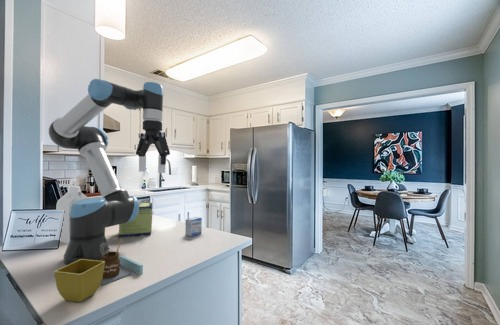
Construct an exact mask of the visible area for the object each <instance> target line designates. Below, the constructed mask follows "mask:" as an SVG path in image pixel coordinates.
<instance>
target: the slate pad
mask: <svg viewBox="0 0 500 325" xmlns="http://www.w3.org/2000/svg"><path fill="white" fill-rule="evenodd" d="M128 276H131V272H128V271H127V270H125V269H123V268H121V267H120V272H119V274H118V275H117V276H115V277H112V278H102V281H101V283H100V285H99V286H102V287H103V286H105V285H107V284H111V283H112V282H115V281H118V280H120V279H123V278H126V277H128Z"/></svg>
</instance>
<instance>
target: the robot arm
mask: <svg viewBox="0 0 500 325" xmlns="http://www.w3.org/2000/svg"><path fill="white" fill-rule="evenodd" d="M163 90H164V89H163V86H162V85H161V83H159V82H154V81H146V82H144V83H143V87H142V89H139V90H137V89H136V90H135V89H132V88H129V87H126V86H121V85H119V84H116V83H113V82H110V81H108V80H104V79H99V78H93V79H91V81H90V82H89V84H88V86H87V93H88V94H87V95H86V96H84V97H83V98H82V99H81V100H80V101H78V103H77V104H75V106H74V107H72V108H71V109H70V110H69V111H68V112H66V114H64V115H63V116H62V117H58V118H56V119H54V120H53V121H52V123H51V124H50V126H48V127H49V128H48V135H49V138H50V140H51V142H53V143H54V144H55V145H57V146H59V147H60V148H63V149H66V150H67V149H68V150H70V149H71V150H77V151H78V153H79V154H80V156H81V157H83V158H85V159H86V162H87V164H88V167H89V169H90V171H91V173H92V176H93V178H94V180H95V183H96V186H97V188H98V190H99V192H100V195H101V196H95V197H88V198H87V199H83V200H79V201H77V202H75V203H73V204H72V206H71V210H70V242H69V244H67V247H66V250H65V252H64V255H63V263H64V264H65V265H66V266H67V265H69V264H71V263H73V262H75V261H78V260H80V259H87V260H97V261H101V256H102V255H103V254H104V253H103V252H105V253H107V252H110V247H109V244H108V242H107V239H106V235H105V234H106V233H105V232H106V228H109V227H114V226H119V224H123V223H127V222H130V221H133V220H134V219H135V218H136V217H137V215H138V212H139V203H140V202H139V200H138V198H137V197H136V196H133V195H130V194H129V193H128V191H127V189H123V188H122V186H121V184H120V181H119V179H118V177H117V174H116V173H115V171H114V168H113V166H112V164H111V162H110V159H109V157H108V155H107V153H106V151H107V147H108V145H109V141H108V140H109V137H108V135H107V132H106V131H104V130H103V129H102V128H98V127H95V126H86V125H87V124H88V123H89V122H92V120H93V119H94V118H96V117H97V116H98V115H99V114H101V113H102V112H103V111H104V110H105V109H107V107H109V106H111V105H112V104H114V105H119V106H123V107H124V108H126V109H127V110H133V111H135V110H139V109H140V110H141V109H142V130H143V131H145V132H143V133H142V132H141V133H140V136H139V139H138V140H139V141H138V145H137V147H136V151H135V155H137V156H138V172H139V173H141V172H142V173H143V172H145V173H146V171H147V152H148V150H149V148H150V146H151V145H154V146H155V148H156V151H157V152H158V154H159V155H158V166H157V167H158V168H157V169H158V170H157V171H158V172H157V173H158V174H165V173H166V164H167V156H169V155H170V154H171V153H170V152H171V151H170V149H169V146H168V142H167V138H166V132H165V131H163V123H162V121H163V108H164V107H163V104H164V103H163V102H164V101H163V100H164V91H163ZM102 243H103V244H102ZM104 243H105V244H106V243H107V244H108V245H107V244H106V245H105V244H104ZM100 245H101V246H100ZM103 247H104V248H103ZM108 247H109V248H108ZM100 248H101V249H100ZM105 248H106V249H105ZM102 249H103V250H102ZM102 253H103V254H102Z"/></svg>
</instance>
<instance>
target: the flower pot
mask: <svg viewBox="0 0 500 325" xmlns="http://www.w3.org/2000/svg"><path fill="white" fill-rule="evenodd" d="M104 265H105V261H101V260H100V261H97V260H87V259H80V260H78V261H75V262H73V263H71V264H69V265H67V264H66V265H65V266H63V267H60V268H58V269H56V270H54V271H53V274H54V278H55V279H54V280H55V285H56V289H57V291H58V294H59V296H61V298H63V299H64V300H65V301H66V302H67V301H69V302H78V303H82V302H83V301H86V299H88V298H90V296H92V295H93V294H95V293H96V292H97V290H98V289H99V288H100V286H101V285H100V283H101V281H102V278H103V272H104Z"/></svg>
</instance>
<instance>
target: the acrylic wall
mask: <svg viewBox="0 0 500 325" xmlns="http://www.w3.org/2000/svg"><path fill="white" fill-rule="evenodd" d="M119 259H120V266H122V267H124V268H126V269H128V270H130V271H132V272H134V273H136V274H137V275H142V274H144V272H143V270H144V269H143V268H144V266H143V264H141V263H139V262H137V261H136V260H133V259H132V258H129V257H126V256H124V255H119Z"/></svg>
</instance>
